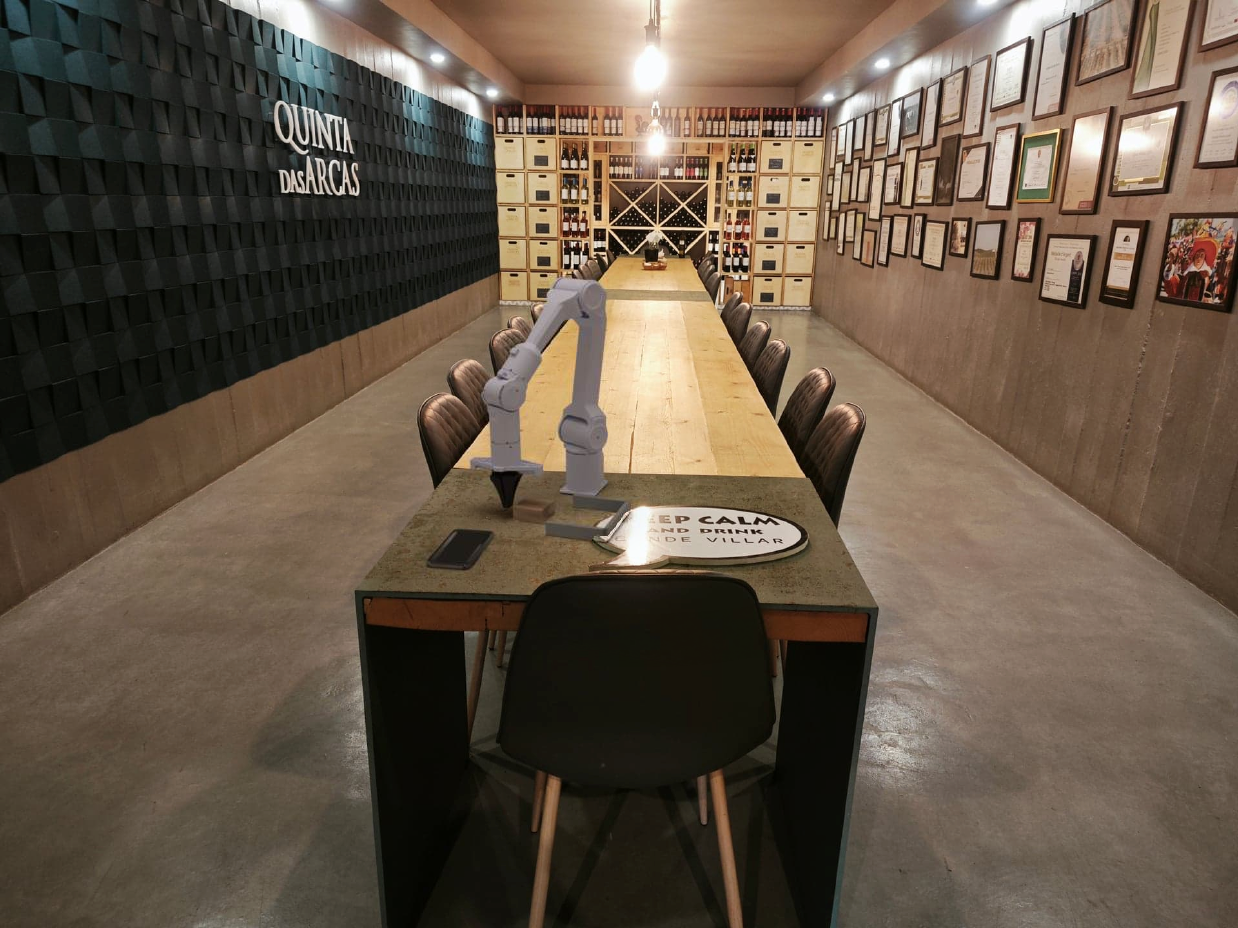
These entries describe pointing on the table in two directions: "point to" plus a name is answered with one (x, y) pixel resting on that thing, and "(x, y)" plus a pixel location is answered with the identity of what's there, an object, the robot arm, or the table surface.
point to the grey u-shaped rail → (589, 531)
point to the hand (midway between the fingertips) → (507, 506)
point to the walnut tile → (533, 510)
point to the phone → (460, 549)
